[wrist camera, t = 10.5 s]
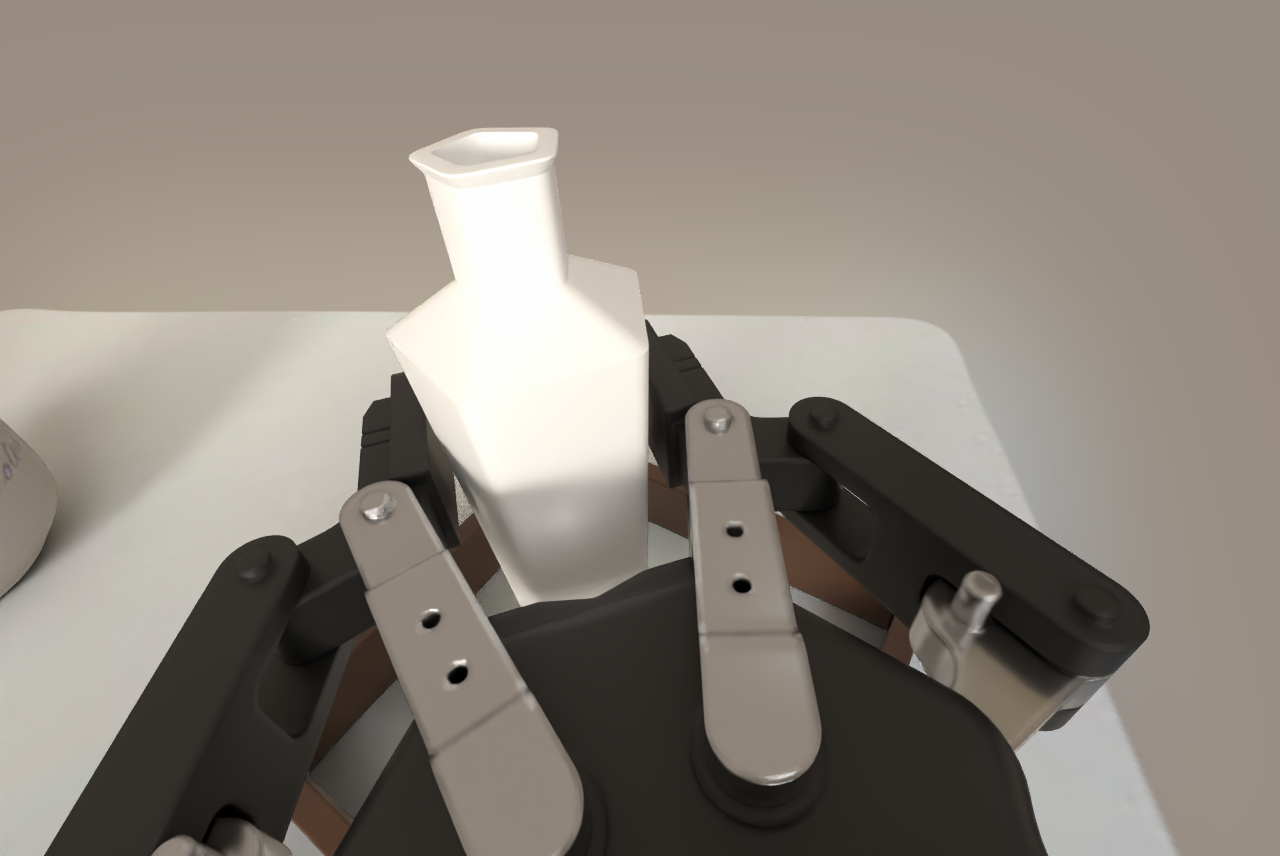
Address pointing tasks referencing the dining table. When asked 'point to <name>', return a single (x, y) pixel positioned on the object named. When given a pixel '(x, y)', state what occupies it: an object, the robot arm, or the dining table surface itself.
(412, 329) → the perfume bottle
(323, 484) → the dining table surface
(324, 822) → the walnut frame
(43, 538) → the teacup
